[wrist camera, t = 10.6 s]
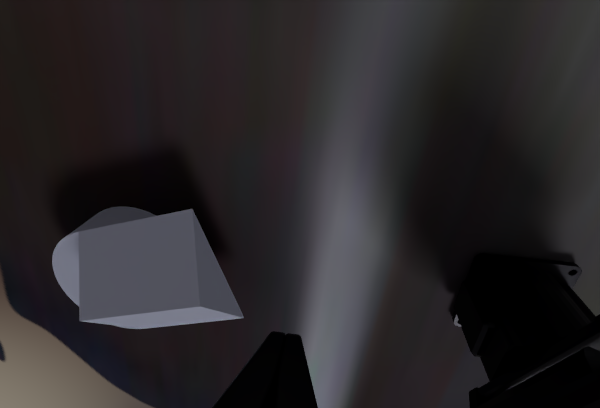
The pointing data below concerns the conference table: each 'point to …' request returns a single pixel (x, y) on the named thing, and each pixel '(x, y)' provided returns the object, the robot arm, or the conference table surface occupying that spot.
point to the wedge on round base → (143, 270)
